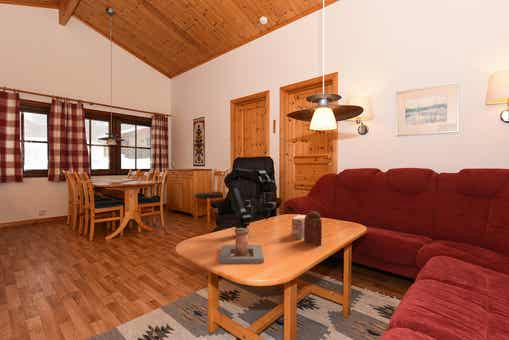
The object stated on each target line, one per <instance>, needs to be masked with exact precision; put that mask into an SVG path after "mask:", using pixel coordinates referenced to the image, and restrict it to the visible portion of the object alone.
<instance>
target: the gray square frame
mask: <svg viewBox="0 0 509 340" xmlns="http://www.w3.org/2000/svg"><path fill="white" fill-rule="evenodd" d="M262 248H263V247H262V245H261V244H248V253H252V256H249V257H235V256H231V254H233V253H234V254H235V253H236V244H222V246H221V251H220V255H219V260H218V261H219V264H264V263H265V257H264V253H263V250H262Z"/></svg>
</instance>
